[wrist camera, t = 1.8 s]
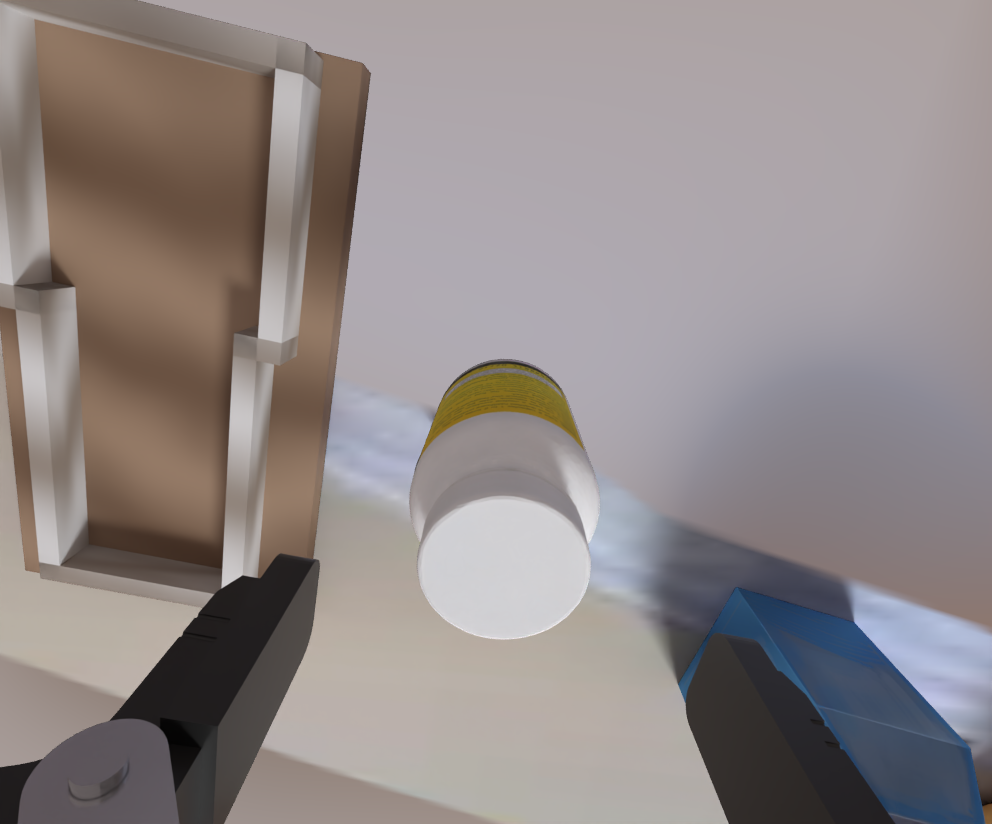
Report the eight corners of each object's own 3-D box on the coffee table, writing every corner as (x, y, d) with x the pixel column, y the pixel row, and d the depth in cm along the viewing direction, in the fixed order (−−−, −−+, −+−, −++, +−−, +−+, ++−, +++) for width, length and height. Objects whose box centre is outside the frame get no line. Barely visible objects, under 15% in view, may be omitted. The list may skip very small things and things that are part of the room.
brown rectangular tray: (-6, -21, 16) (-95, -67, 13) (370, 73, 17) (348, 45, 14) (44, 556, 23) (-8, 593, 20) (307, 604, 24) (285, 645, 21)
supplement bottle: (417, 383, 20) (344, 507, 11) (545, 336, 19) (585, 425, 10) (466, 496, 22) (440, 688, 12) (586, 457, 21) (653, 628, 12)
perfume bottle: (677, 684, 25) (825, 1054, 14) (735, 586, 23) (963, 923, 12) (788, 714, 26) (1017, 1093, 14) (854, 622, 24) (1180, 975, 12)
